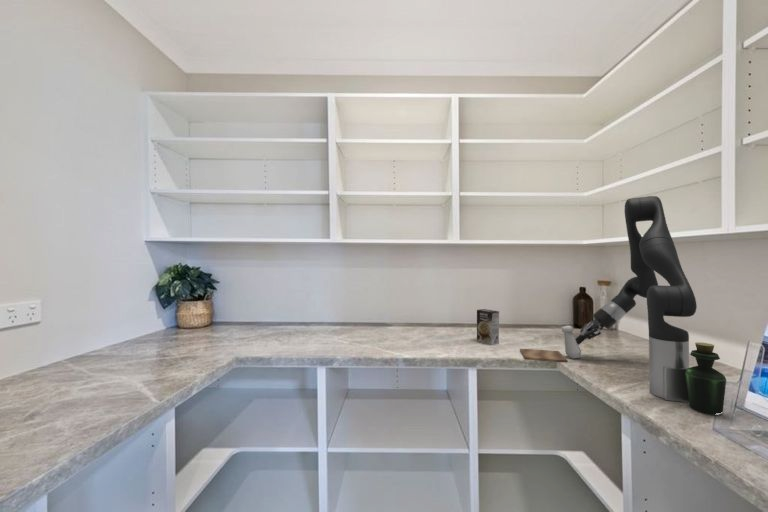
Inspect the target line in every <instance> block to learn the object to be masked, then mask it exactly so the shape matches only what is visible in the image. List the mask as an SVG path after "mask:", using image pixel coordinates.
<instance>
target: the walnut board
mask: <svg viewBox="0 0 768 512" xmlns="http://www.w3.org/2000/svg"><path fill="white" fill-rule="evenodd" d="M519 351H520V353H521V355H522V354H523V355H522V356H524V357H523V359H524V360H530V361H533V360H534V361H543V362H544V361H546V362H557V363H558V362H560V363H569V361H568V359H567V358H566V357H565V356H564V355H563V354H562V353H561V352H560V351H559V350H548V349H531V348H519Z"/></svg>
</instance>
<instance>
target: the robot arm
mask: <svg viewBox="0 0 768 512" xmlns="http://www.w3.org/2000/svg"><path fill="white" fill-rule="evenodd" d="M664 211H665V210H664V207H663V203H662V201H661V198H660V197H659V196H657V195H647V196H641V197H640V196H639V197H632V198H627V200H626V201H625V203H624V218H625V226H626V233H627V238H628V243H629V251H630V253H629V254H630V270H631V272H632V273H633V274H634V275H635V276H633V277H631V278H629V279H628V280H627V281H626V282H624V283H625V284H624V285H623V286H622V288H621V289H620V290H619V292H618V294H617V295H616V296H614V297H613V298H612V299H611V300H610V301H608V302H607V303H605V304H604V305H603V306H601V307H600V308H599V309H597V311H596V312H595V313H593V314H592V317H593V318H594V319H593V320H591V321H590V322H588V323H587V322H586V323H584V325H583V327H582V328H581V330H580V331H579V335H578V336H576V337H575V339H576V341H577V343H578V345H581V344H582V343H583V342H585V341H586V340H591V339H594V338H595V337H597V336H600V335H601V334H602V332H601V331H602V330H603V328H605V329H610V328H611V327H613V326H614V325H615V324H616V323H618V322H619V321H620V320H621V319H622V318H624V316H626V314H627V313H629V312H630V311H631V310H632V309H634V308H635V306H636V305H637V301H635V298H636V296H639V297H642V298H645V299H646V305H647V306H646V308H647V309H646V310H647V319H648V320H647V322H648V323H647V324H648V325H647V326H648V366H649V367H648V376H649V377H648V383H649V393H650V394H651V395H654V396H656V397H659V398H662V399H663V400H666V401H671V402H673V401H675V402H684V403H689V399H688V391H687V383H686V375H685V371H686V370H687V369H688V368H690V334H689V332H688V331H687V330H685V329H684V328H680V327H677V326H675V325H671V324H669V323H668V322H667V321H665V318H664V317H677V318H678V317H679V318H685V317H686V318H689V317H692V316H695V314H696V312H697V300H696V296H695V293H694V291H693V289H692V287H691V285H690V283H689V281H688V278H687V276H686V274H685V271H684V270H683V268H682V265H681V262H680V258H679V255H678V252H677V249H676V246H675V242H674V240H673V237H672V235H671V233H670V230H669V227H668V224H667V220H666V216H665V215H666V214H665V212H664ZM648 221H649V222H651V221H652V224H651V225H650V226H649V228H648V229H647V231H645V233H644V234H643V235H642V234H640V231H639V230H638V228H637V223H638V222H648ZM656 273H657V274H658V275H659V276H661V277H662V278H663V279H664V280H665V281H666V282H667V283H668V284H669V285H659V283H658V279H657V276H656Z"/></svg>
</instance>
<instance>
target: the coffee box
mask: <svg viewBox="0 0 768 512" xmlns="http://www.w3.org/2000/svg"><path fill="white" fill-rule="evenodd" d="M499 327H500V311H498V310H492V309H486V308H483V309H482V308H481V309H476V342H477V343H481V344H485V345H490V346H495V345H498V344H499V343H500V328H499Z"/></svg>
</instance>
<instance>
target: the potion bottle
mask: <svg viewBox="0 0 768 512" xmlns="http://www.w3.org/2000/svg"><path fill="white" fill-rule="evenodd" d="M694 344H695V348H696V349H694V350H691V352H690V353H689V356H692V357H693V358H694V359H695V361H696V364H697V365H695V366H694V365H693V366H692V367H689V368H688V369H687V370H686V371H685V375H686V383H687V391H688V399H689V402H688V406H689V407H690V408H691V409H692V410H694V411H696V412H698V413H701V414H705V415H710V416H716V415H715V414H716V413H721V412H723V413H724V404H725V395H726V394H725V393H726V385H727V378H726V376H725V375H724V373H722V372H720V371H719V370H716V368H713V366H714V363H715V361H718V360H721V358H720V356H719V354H718V352H717V353H716V352H713V351H714V350H715V349H714V348H715V344H712V343H707V342H694Z"/></svg>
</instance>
